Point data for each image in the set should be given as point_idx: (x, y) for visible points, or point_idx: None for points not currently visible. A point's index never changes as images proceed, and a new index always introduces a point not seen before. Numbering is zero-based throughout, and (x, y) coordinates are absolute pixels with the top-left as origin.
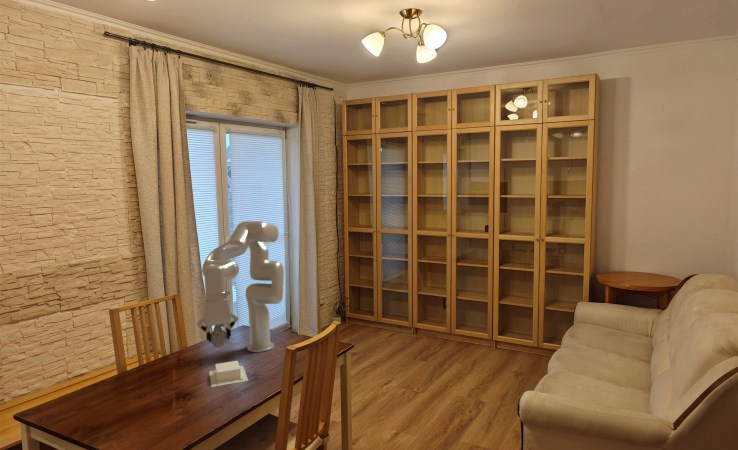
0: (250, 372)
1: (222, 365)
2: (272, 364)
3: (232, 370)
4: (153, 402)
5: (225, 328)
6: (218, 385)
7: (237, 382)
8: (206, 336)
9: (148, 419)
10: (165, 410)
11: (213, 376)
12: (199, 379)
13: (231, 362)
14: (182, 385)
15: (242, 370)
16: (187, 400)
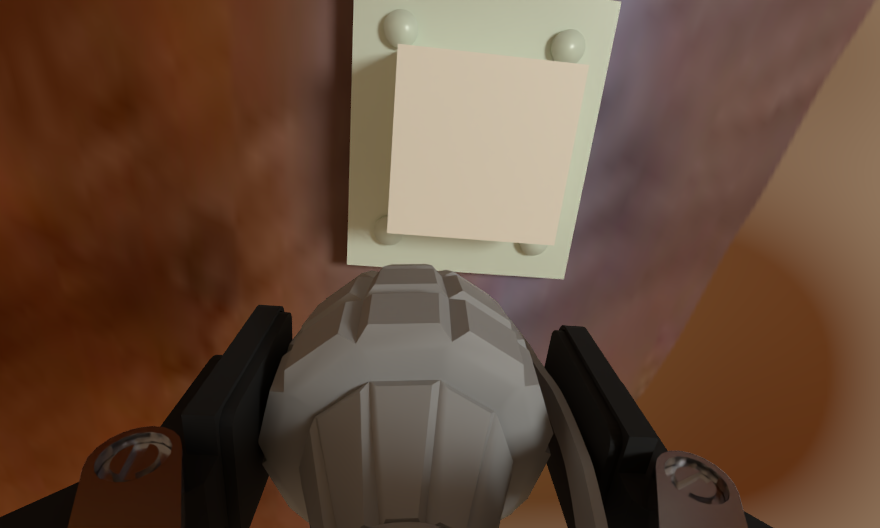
0: (628, 104)
1: (449, 110)
2: (812, 40)
3: (497, 239)
4: (13, 248)
5: (581, 499)
6: (388, 264)
7: (500, 274)
8: (199, 376)
9: (38, 414)
10: (107, 365)
11: (376, 103)
12: (282, 34)
13: (531, 81)
14: (164, 80)
15: (584, 103)
16: (213, 310)
